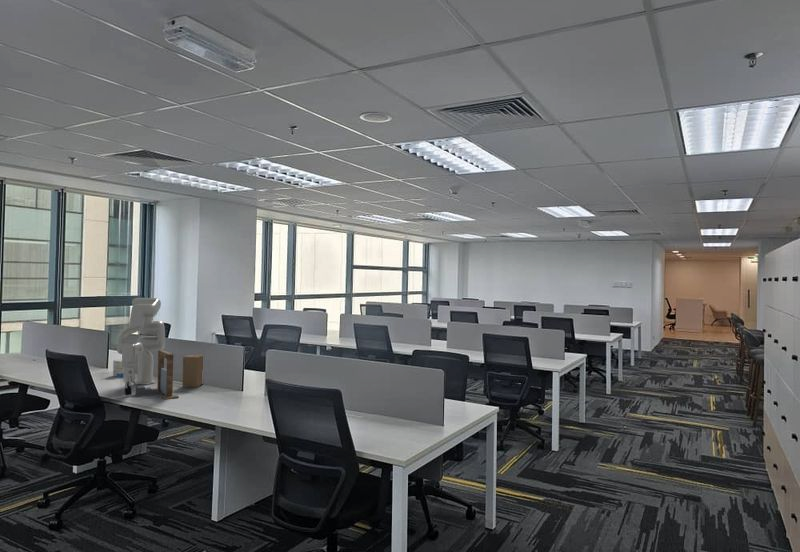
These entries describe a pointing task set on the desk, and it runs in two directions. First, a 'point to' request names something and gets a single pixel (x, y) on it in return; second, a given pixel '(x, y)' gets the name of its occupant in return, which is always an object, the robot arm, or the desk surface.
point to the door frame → (169, 379)
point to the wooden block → (192, 370)
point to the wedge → (145, 391)
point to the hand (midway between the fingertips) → (128, 394)
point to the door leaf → (163, 380)
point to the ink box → (117, 368)
